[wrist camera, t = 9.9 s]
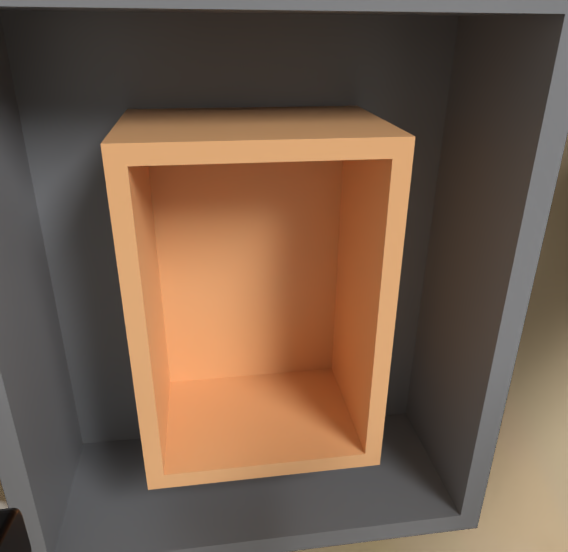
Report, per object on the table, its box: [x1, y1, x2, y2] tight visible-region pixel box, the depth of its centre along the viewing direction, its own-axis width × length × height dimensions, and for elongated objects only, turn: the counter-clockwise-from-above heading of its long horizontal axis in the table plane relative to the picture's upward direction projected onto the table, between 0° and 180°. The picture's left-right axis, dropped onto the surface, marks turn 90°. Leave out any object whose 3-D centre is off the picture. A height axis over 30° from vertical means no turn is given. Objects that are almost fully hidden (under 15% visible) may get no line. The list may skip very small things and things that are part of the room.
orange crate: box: [101, 106, 415, 490], centre depth 16 cm, size 7×10×5 cm
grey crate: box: [0, 0, 568, 552], centre depth 17 cm, size 14×16×6 cm
